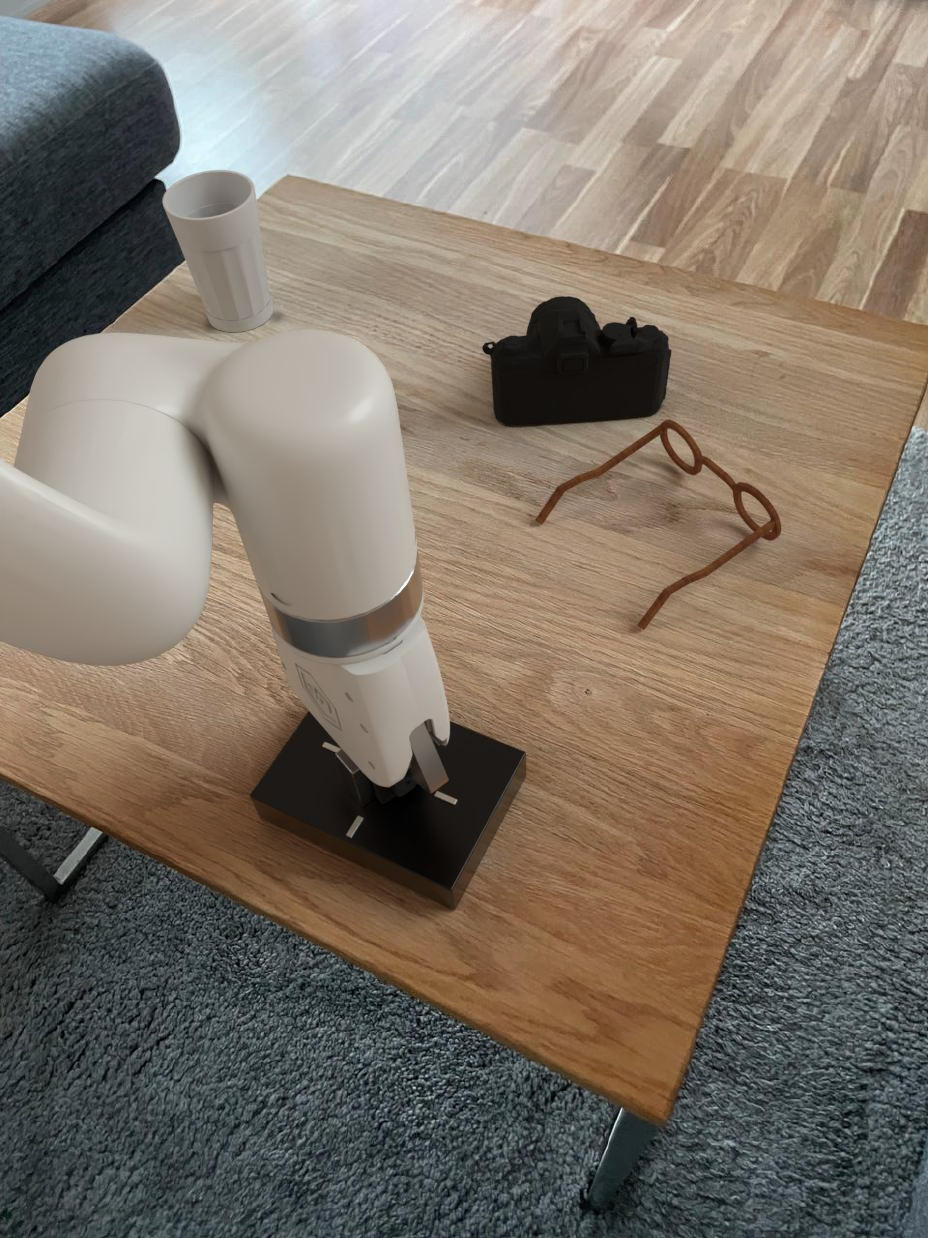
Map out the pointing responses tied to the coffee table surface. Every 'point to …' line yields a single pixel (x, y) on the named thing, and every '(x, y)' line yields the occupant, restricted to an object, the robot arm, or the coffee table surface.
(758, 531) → the glasses
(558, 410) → the film camera
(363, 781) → the hob knob
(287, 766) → the black square plate
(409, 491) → the robot arm
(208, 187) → the cup
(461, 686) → the coffee table surface
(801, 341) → the coffee table surface
